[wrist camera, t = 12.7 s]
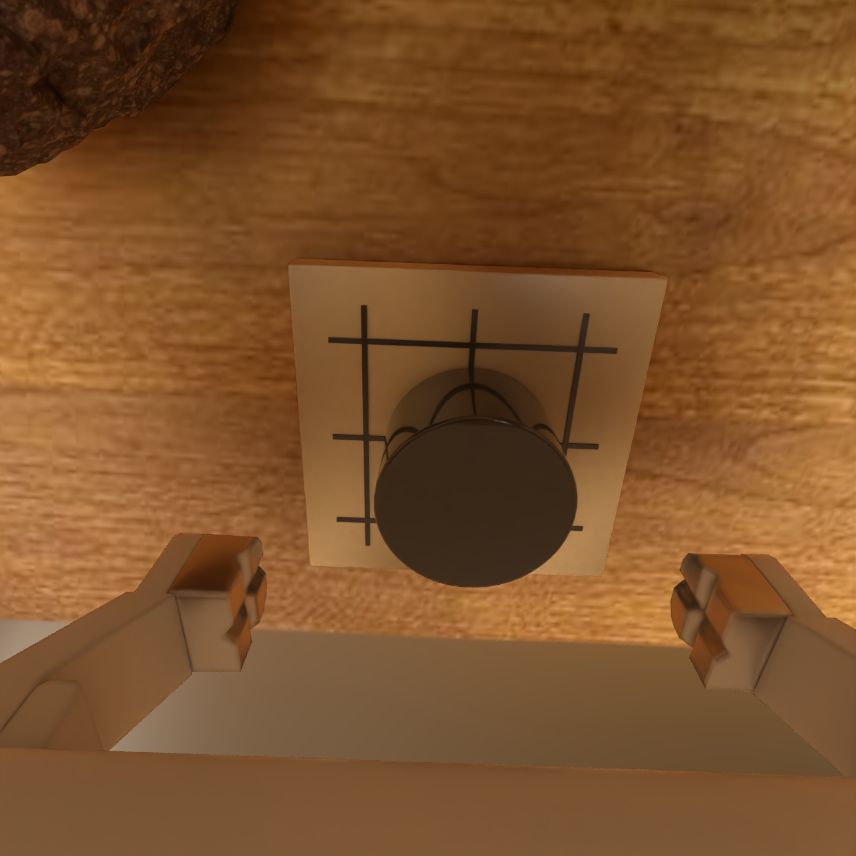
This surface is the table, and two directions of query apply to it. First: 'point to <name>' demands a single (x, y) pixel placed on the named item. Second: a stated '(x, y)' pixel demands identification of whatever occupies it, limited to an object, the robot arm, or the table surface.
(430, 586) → the table surface
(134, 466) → the table surface
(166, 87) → the rock
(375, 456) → the board
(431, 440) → the dark grey cylinder
